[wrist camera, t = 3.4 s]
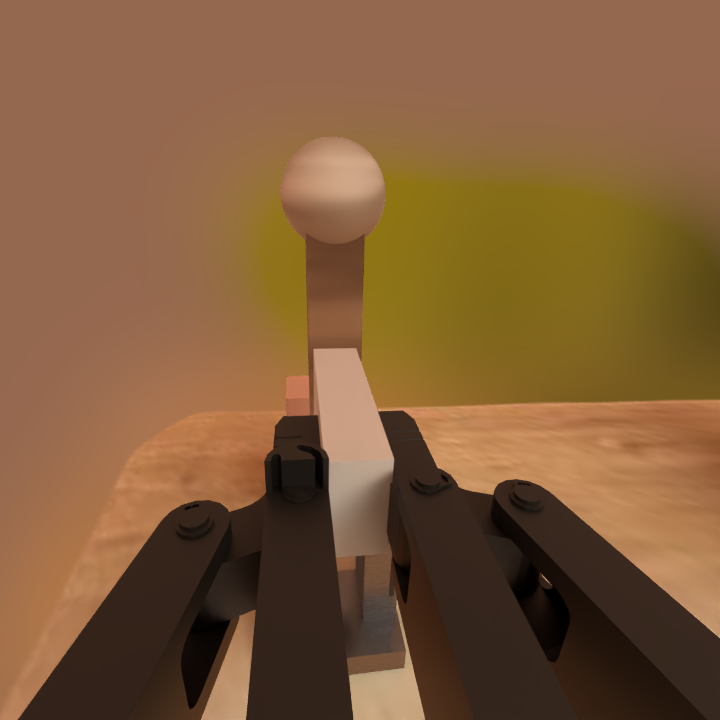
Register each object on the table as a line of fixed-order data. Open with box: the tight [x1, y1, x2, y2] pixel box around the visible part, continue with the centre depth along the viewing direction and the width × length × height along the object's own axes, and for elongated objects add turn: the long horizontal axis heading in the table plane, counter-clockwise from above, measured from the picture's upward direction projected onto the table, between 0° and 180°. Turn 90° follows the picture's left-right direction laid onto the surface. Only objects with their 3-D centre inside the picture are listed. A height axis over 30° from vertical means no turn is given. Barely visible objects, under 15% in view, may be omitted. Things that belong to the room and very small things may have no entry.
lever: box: [280, 137, 385, 571], centre depth 22 cm, size 4×4×23 cm
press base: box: [338, 539, 406, 675], centre depth 31 cm, size 18×9×8 cm, turn 8°
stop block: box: [286, 376, 310, 416], centre depth 37 cm, size 4×6×9 cm
